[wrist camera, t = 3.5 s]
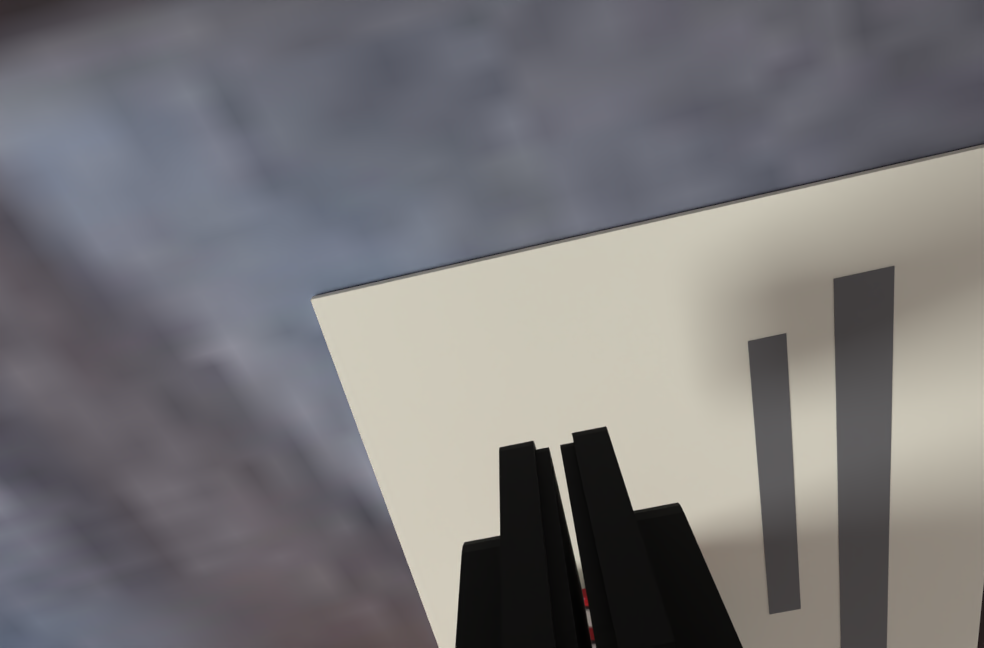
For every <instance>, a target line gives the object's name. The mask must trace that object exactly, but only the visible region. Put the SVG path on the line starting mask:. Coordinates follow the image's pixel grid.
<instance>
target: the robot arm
mask: <svg viewBox="0 0 984 648" xmlns="http://www.w3.org/2000/svg"><path fill="white" fill-rule="evenodd" d="M572 437H573V443H567V444H562V445H560V449H561V454H562V460H563V465H564V471H565V477H566V482H567V488H568V493H569V499H570V505H571V510H572V516H573V521H574V527H575V533H576V538H577V544H578V550H579V555H580V561H581V566H582V572H583V578H584V583H585V589H586V594H587V600H588V606H589V611H590V617H591V623H592V628H593V633H594V639H595V644H596V648H743V647H742V644H741V642H740V640H739V637H738V635H737V633H736V631H735V628H734V626H733V624H732V621H731V619H730V617H729V614H728V612H727V610H726V608H725V605H724V603H723V601H722V598H721V596H720V594H719V591H718V589H717V587H716V585H715V582H714V580H713V578H712V575H711V573H710V571H709V568H708V566H707V564H706V562H705V559H704V557H703V555H702V552H701V550H700V548H699V545H698V543H697V541H696V539H695V536H694V534H693V532H692V529H691V527H690V525H689V522H688V520H687V518H686V516H685V513H684V511H683V509H682V507H681V505H680V504H679V503H678V502H677V503H672V504H667V505H661V506H656V507H651V508H645V509H640V510H634V511H633V508H632V505H631V502H630V498H629V495H628V492H627V489H626V486H625V483H624V480H623V477H622V473H621V470H620V467H619V464H618V461H617V458H616V455H615V452H614V448H613V445H612V442H611V439H610V436H609V433H608V430H607V427H606V426H605V427H600V428H594V429H589V430H584V431H579V432H574V433H572ZM499 492H500V536H495V537H489V538H484V539H478V540H473V541H468V542H464V544H463V547H462V554H461V569H460V584H459V598H458V613H457V628H456V643H455V648H592V643H591V637H590V632H589V626H588V620H587V614H586V608H585V603H584V597H583V592H582V587H581V583H580V578H579V574H578V570H577V565H576V561H575V557H574V552H573V548H572V544H571V539H570V535H569V531H568V526H567V522H566V518H565V513H564V509H563V505H562V500H561V496H560V492H559V487H558V483H557V479H556V474H555V470H554V466H553V461H552V457H551V453H550V449H549V447H547V448H542V449H537V450H536V446H535V443H534V441H529V442H524V443H519V444H514V445H509V446H504V447H500V448H499Z"/></svg>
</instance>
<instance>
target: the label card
mask: <svg viewBox="0 0 984 648" xmlns="http://www.w3.org/2000/svg"><path fill="white" fill-rule="evenodd" d="M311 302H312V305H313V308H314V310H315V313H316V316H317V318H318V321H319V324H320V327H321V329H322V332H323V335H324V337H325V340H326V343H327V346H328V348H329V351H330V354H331V356H332V359H333V362H334V365H335V367H336V370H337V373H338V375H339V378H340V381H341V383H342V386H343V389H344V392H345V394H346V397H347V400H348V402H349V405H350V408H351V411H352V413H353V416H354V419H355V421H356V424H357V427H358V430H359V432H360V435H361V438H362V440H363V443H364V446H365V448H366V451H367V454H368V457H369V459H370V462H371V465H372V467H373V470H374V473H375V476H376V478H377V481H378V484H379V486H380V489H381V492H382V495H383V497H384V500H385V503H386V505H387V508H388V511H389V514H390V516H391V519H392V522H393V524H394V527H395V530H396V532H397V535H398V538H399V541H400V543H401V546H402V549H403V551H404V554H405V557H406V560H407V562H408V565H409V568H410V570H411V573H412V576H413V579H414V581H415V584H416V587H417V589H418V592H419V595H420V597H421V600H422V603H423V606H424V608H425V611H426V614H427V616H428V619H429V622H430V625H431V627H432V630H433V633H434V635H435V638H436V641H437V644H438V646H439V648H455V643H456V628H457V613H458V598H459V584H460V569H461V554H462V547H463V544H464V542H468V541H473V540H478V539H484V538H489V537H495V536H500V492H499V448H500V447H504V446H509V445H514V444H519V443H524V442H529V441H534V443H535V446H536V450H537V449H542V448H547V447H549V449H550V453H551V457H552V461H553V466H554V470H555V474H556V479H557V483H558V487H559V492H560V496H561V500H562V505H563V509H564V513H565V518H566V522H567V526H568V531H569V535H570V539H571V544H572V548H573V552H574V557H575V561H576V565H577V570H578V574H579V578H580V583H581V587H582V589H584V588H585V583H584V578H583V572H582V566H581V561H580V555H579V550H578V544H577V538H576V533H575V527H574V521H573V516H572V510H571V505H570V499H569V493H568V488H567V482H566V477H565V471H564V465H563V460H562V454H561V449H560V445H562V444H567V443H573V437H572V433H574V432H579V431H584V430H589V429H594V428H600V427H605V426H606V427H607V430H608V433H609V436H610V439H611V442H612V445H613V448H614V452H615V455H616V458H617V461H618V464H619V467H620V470H621V473H622V477H623V480H624V483H625V486H626V489H627V492H628V495H629V498H630V502H631V505H632V508H633V511H634V510H640V509H645V508H651V507H656V506H661V505H667V504H672V503H677V502H678V503H679V504H680V505H681V507H682V509H683V511H684V513H685V516H686V518H687V520H688V522H689V525H690V527H691V529H692V532H693V534H694V536H695V539H696V541H697V543H698V545H699V548H700V550H701V552H702V555H703V557H704V559H705V562H706V564H707V566H708V568H709V571H710V573H711V575H712V578H713V580H714V582H715V585H716V587H717V589H718V591H719V594H720V596H721V598H722V601H723V603H724V605H725V608H726V610H727V612H728V614H729V617H730V619H731V621H732V624H733V626H734V628H735V631H736V633H737V635H738V637H739V640H740V642H741V644H742V647H743V648H977V646H978V636H979V625H980V615H981V605H982V595H983V585H984V144H983V145H978V146H974V147H969V148H965V149H961V150H956V151H952V152H947V153H943V154H938V155H934V156H930V157H925V158H921V159H916V160H912V161H908V162H903V163H899V164H894V165H890V166H886V167H881V168H877V169H872V170H868V171H863V172H859V173H855V174H850V175H846V176H841V177H837V178H833V179H828V180H824V181H819V182H815V183H811V184H806V185H802V186H797V187H793V188H788V189H784V190H780V191H775V192H771V193H766V194H762V195H758V196H753V197H749V198H744V199H740V200H736V201H731V202H727V203H722V204H718V205H714V206H709V207H705V208H700V209H696V210H691V211H687V212H683V213H678V214H674V215H669V216H665V217H661V218H656V219H652V220H647V221H643V222H639V223H634V224H630V225H625V226H621V227H616V228H612V229H608V230H603V231H599V232H594V233H590V234H586V235H581V236H577V237H572V238H568V239H564V240H559V241H555V242H550V243H546V244H541V245H537V246H533V247H528V248H524V249H519V250H515V251H511V252H506V253H502V254H497V255H493V256H489V257H484V258H480V259H475V260H471V261H467V262H462V263H458V264H453V265H449V266H444V267H440V268H436V269H431V270H427V271H422V272H418V273H414V274H409V275H405V276H400V277H396V278H392V279H387V280H383V281H378V282H374V283H369V284H365V285H361V286H356V287H352V288H347V289H343V290H339V291H334V292H330V293H325V294H321V295H317V296H313V297H312V299H311Z"/></svg>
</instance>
